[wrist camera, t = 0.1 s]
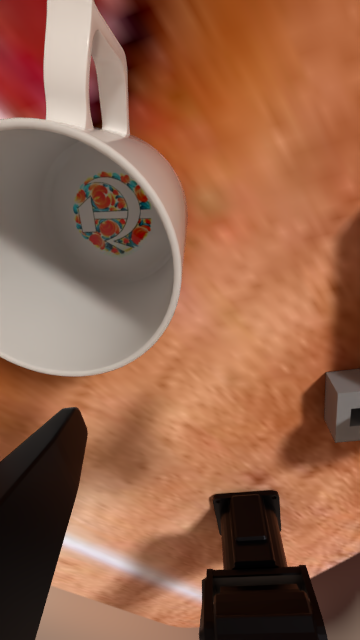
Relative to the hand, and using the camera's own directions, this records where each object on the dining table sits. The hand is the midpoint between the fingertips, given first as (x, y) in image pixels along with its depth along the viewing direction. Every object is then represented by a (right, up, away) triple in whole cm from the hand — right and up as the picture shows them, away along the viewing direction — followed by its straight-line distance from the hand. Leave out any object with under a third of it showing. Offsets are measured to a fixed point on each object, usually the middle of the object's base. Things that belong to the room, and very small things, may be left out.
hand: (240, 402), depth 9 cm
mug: (-5, +10, +12) cm, 16 cm away
